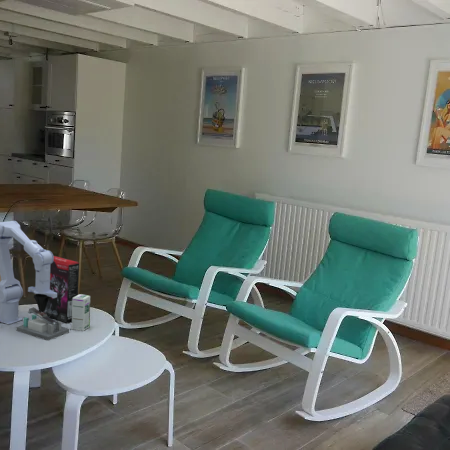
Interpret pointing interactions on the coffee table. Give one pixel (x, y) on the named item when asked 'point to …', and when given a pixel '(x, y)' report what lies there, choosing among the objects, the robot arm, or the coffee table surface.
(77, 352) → the coffee table surface
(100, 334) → the coffee table surface
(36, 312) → the clamp strap
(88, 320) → the syrup box
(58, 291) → the graphics card box
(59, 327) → the clamp board
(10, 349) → the coffee table surface
